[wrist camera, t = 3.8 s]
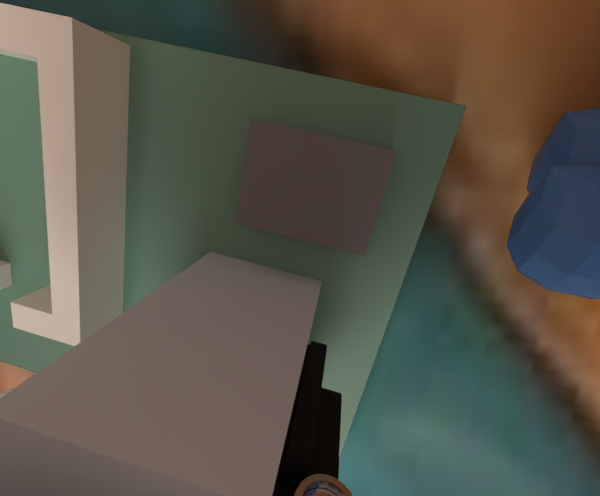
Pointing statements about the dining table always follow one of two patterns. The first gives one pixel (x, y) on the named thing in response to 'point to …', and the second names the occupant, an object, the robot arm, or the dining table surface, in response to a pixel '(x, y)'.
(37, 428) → the plug
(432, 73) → the dining table surface
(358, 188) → the board
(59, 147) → the frame
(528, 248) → the grapes
